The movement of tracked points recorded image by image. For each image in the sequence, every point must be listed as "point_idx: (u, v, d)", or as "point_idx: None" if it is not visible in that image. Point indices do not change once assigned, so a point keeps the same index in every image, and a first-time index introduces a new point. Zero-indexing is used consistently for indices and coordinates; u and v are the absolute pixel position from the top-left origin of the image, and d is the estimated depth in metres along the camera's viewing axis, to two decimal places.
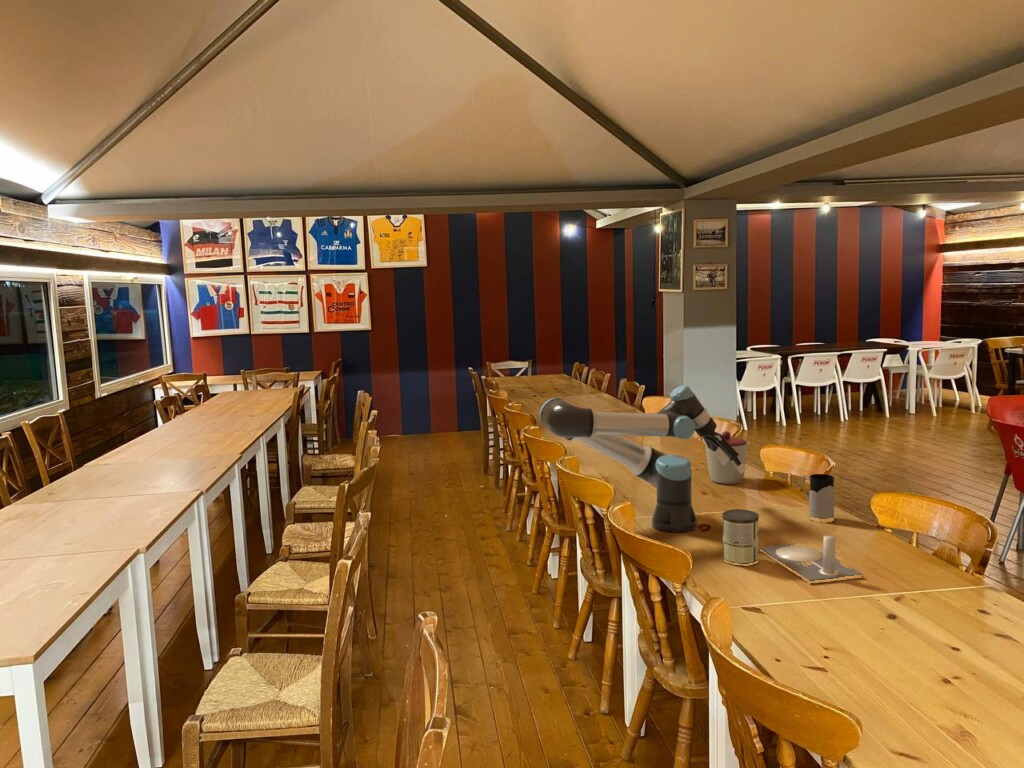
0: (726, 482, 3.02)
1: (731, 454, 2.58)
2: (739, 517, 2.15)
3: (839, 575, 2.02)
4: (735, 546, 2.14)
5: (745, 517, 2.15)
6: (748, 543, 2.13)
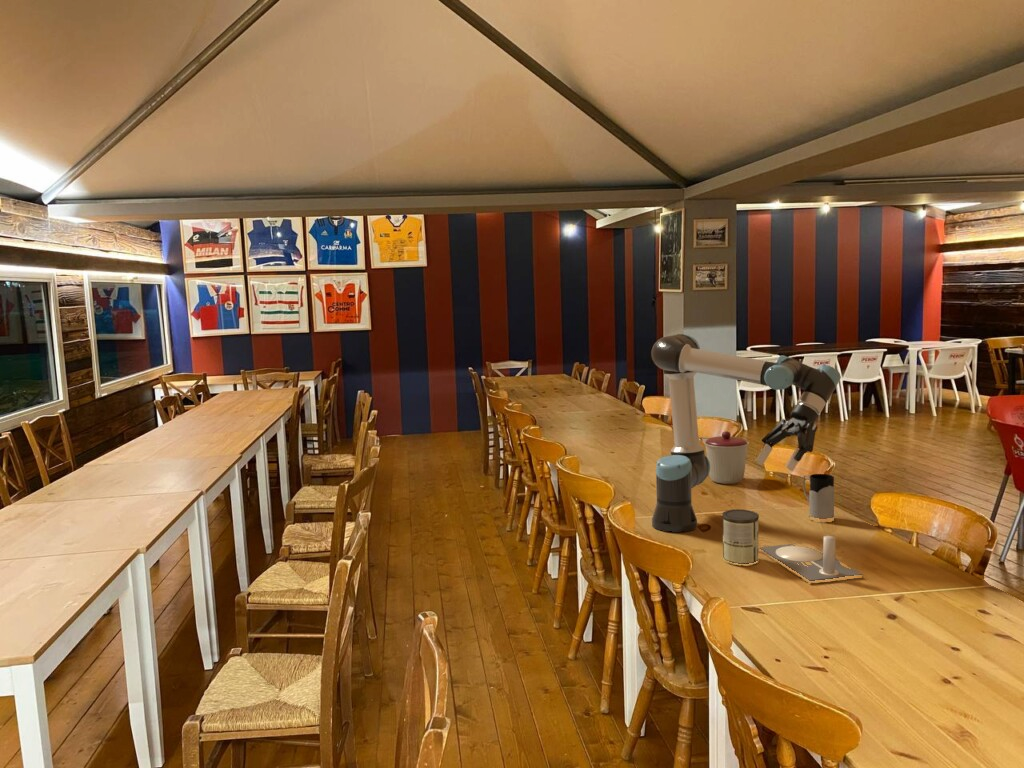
0: (726, 482, 3.02)
1: (809, 443, 2.19)
2: (739, 517, 2.15)
3: (839, 575, 2.02)
4: (735, 546, 2.14)
5: (745, 517, 2.15)
6: (748, 543, 2.13)
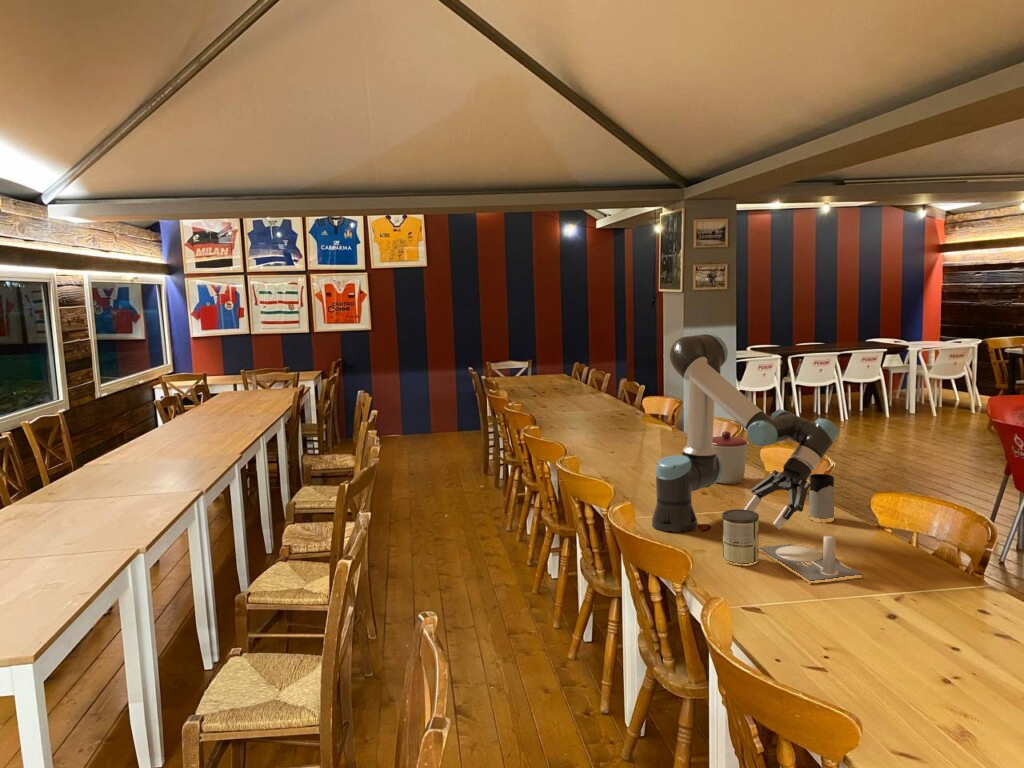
0: (726, 482, 3.02)
1: (799, 502, 2.11)
2: (739, 517, 2.15)
3: (839, 575, 2.02)
4: (735, 546, 2.14)
5: (745, 517, 2.15)
6: (748, 543, 2.13)
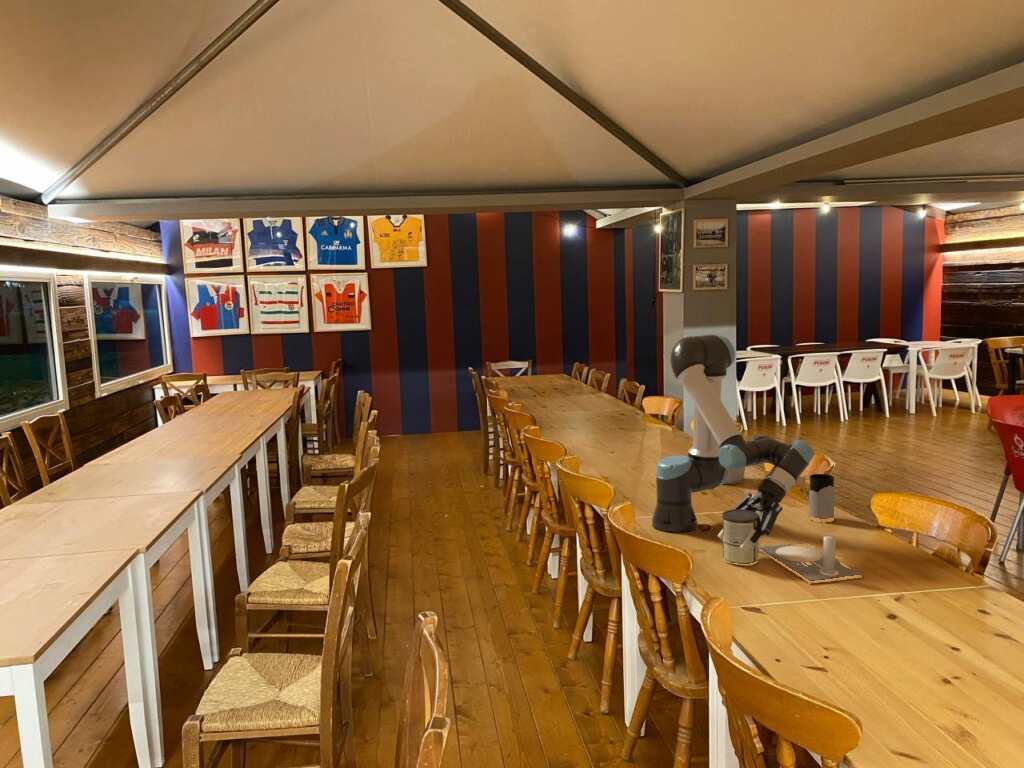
0: (726, 482, 3.02)
1: (767, 526, 2.11)
2: (739, 517, 2.15)
3: (839, 575, 2.02)
4: (735, 546, 2.14)
5: (745, 517, 2.15)
6: None
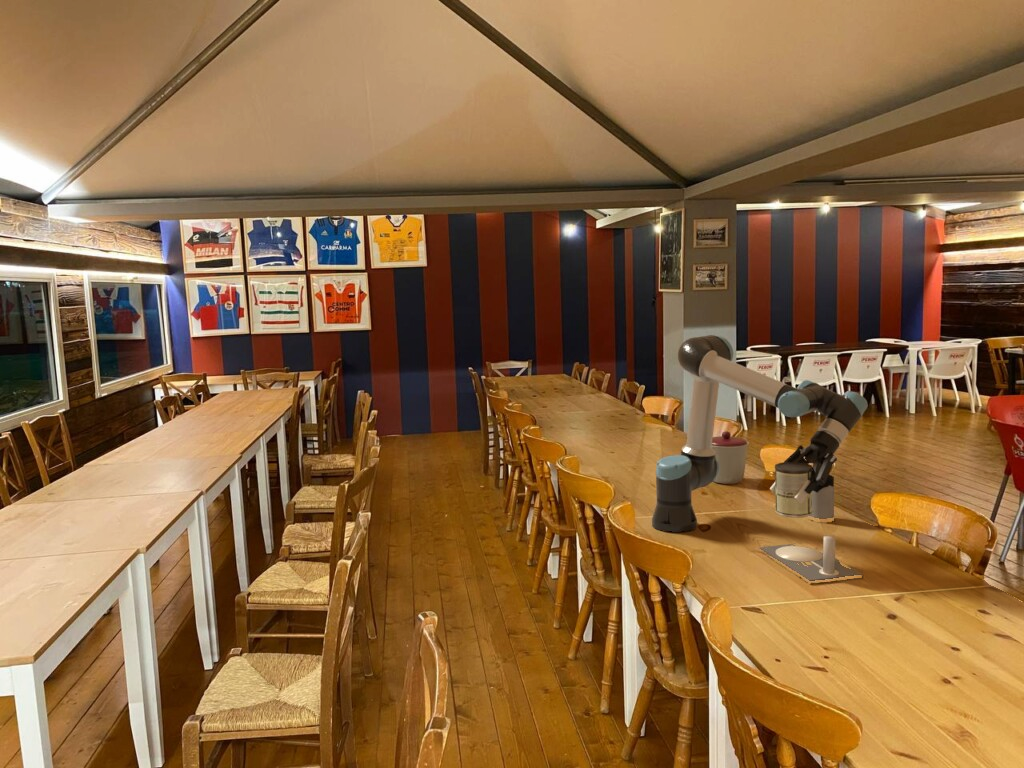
0: (726, 482, 3.02)
1: (822, 476, 2.08)
2: (792, 468, 2.13)
3: (839, 575, 2.02)
4: (789, 497, 2.12)
5: (799, 468, 2.12)
6: None
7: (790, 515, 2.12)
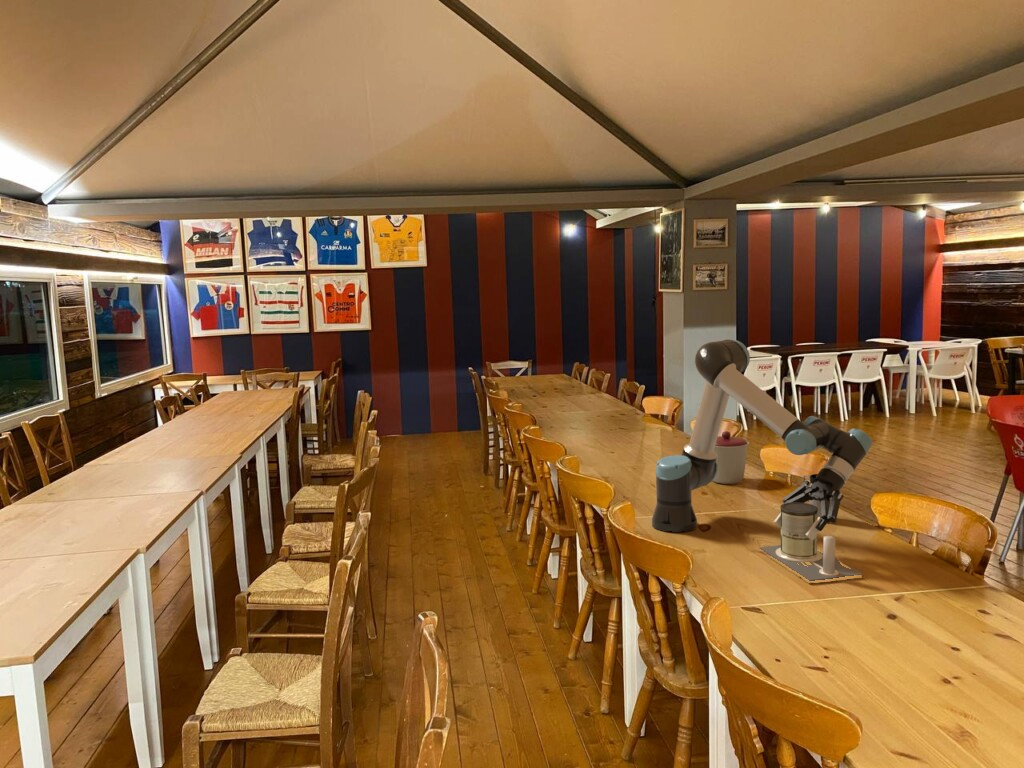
0: (726, 482, 3.02)
1: (833, 513, 2.09)
2: (798, 510, 2.15)
3: (839, 575, 2.02)
4: (795, 539, 2.14)
5: (804, 510, 2.15)
6: None
7: (795, 556, 2.14)
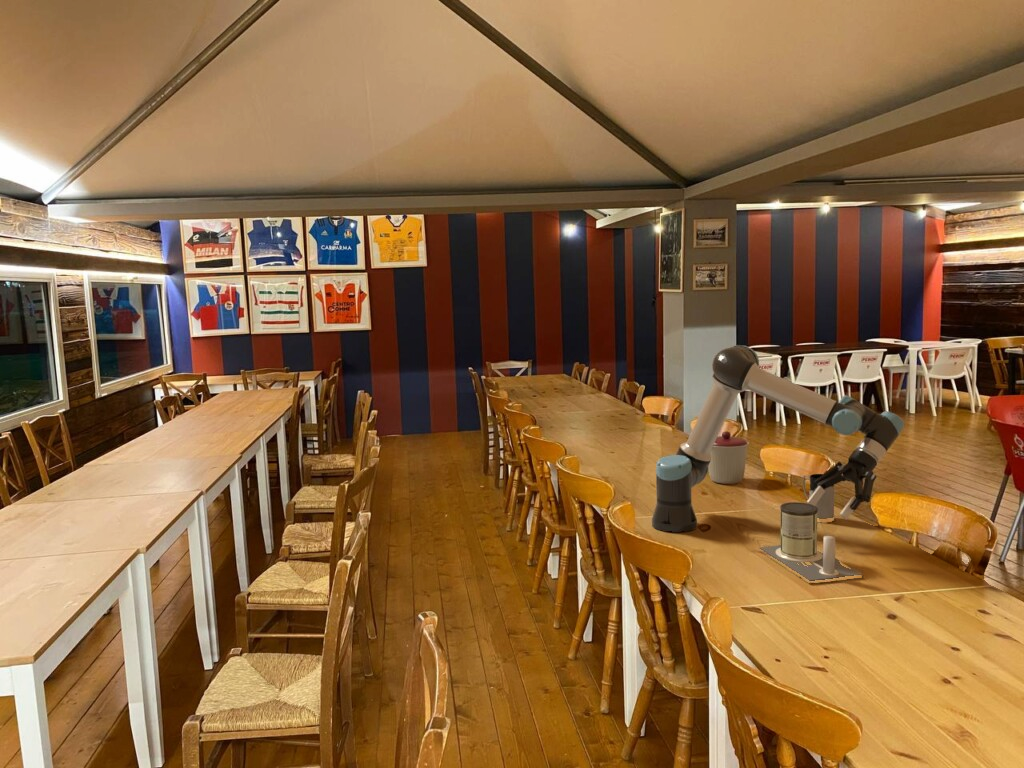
0: (726, 482, 3.02)
1: (867, 493, 2.14)
2: (798, 509, 2.15)
3: (839, 575, 2.02)
4: (795, 538, 2.14)
5: (804, 509, 2.15)
6: (808, 535, 2.13)
7: (795, 556, 2.14)
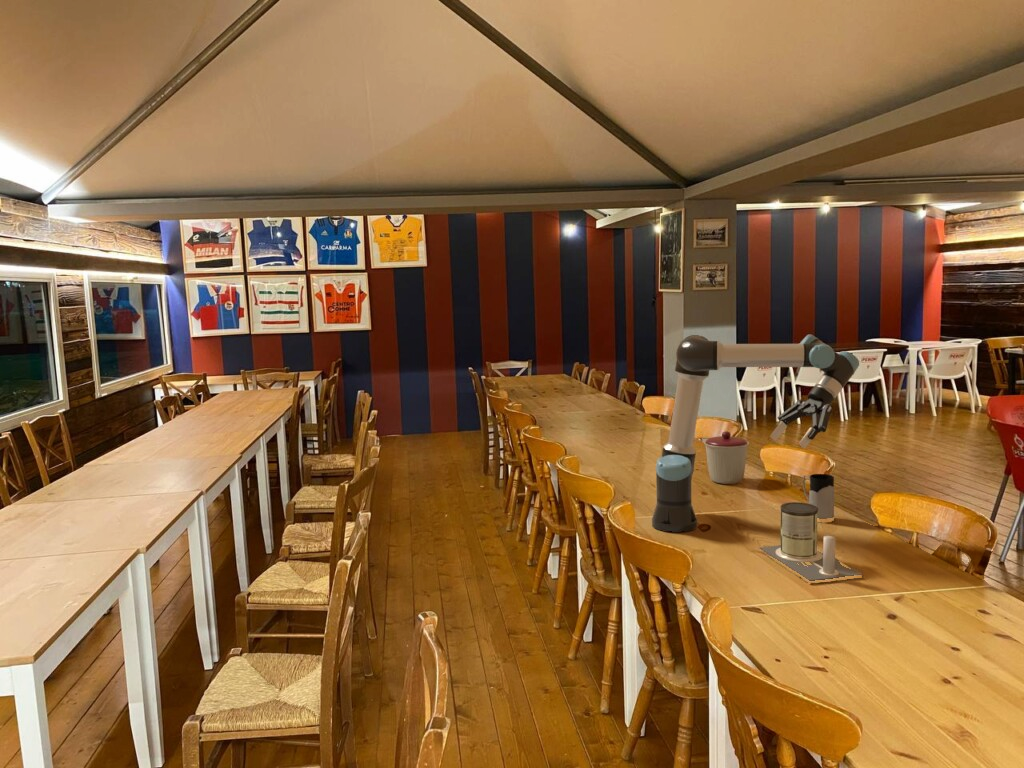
0: (726, 482, 3.02)
1: (823, 423, 2.32)
2: (798, 510, 2.15)
3: (839, 575, 2.02)
4: (795, 539, 2.14)
5: (804, 510, 2.14)
6: (808, 536, 2.13)
7: (795, 556, 2.14)
